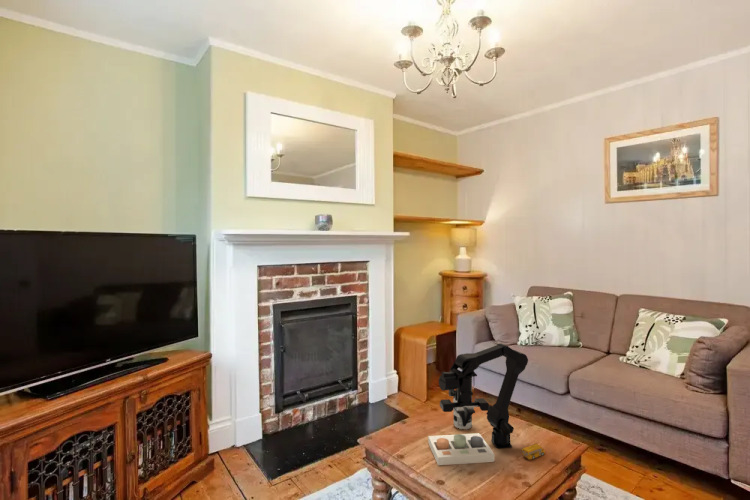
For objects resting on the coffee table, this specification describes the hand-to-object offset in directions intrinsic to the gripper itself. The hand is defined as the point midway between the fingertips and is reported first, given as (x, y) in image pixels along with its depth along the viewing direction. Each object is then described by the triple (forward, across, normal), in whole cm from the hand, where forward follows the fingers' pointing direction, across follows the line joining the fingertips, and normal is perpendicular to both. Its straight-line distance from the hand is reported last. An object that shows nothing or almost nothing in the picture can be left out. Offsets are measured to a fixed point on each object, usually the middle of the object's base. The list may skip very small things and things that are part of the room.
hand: (463, 426), depth 154 cm
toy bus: (+10, -26, +6) cm, 29 cm away
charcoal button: (+8, -6, 0) cm, 10 cm away
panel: (+10, +1, 0) cm, 11 cm away
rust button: (+9, +8, 0) cm, 12 cm away
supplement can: (+10, -7, -21) cm, 25 cm away
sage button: (+8, +2, 0) cm, 8 cm away
